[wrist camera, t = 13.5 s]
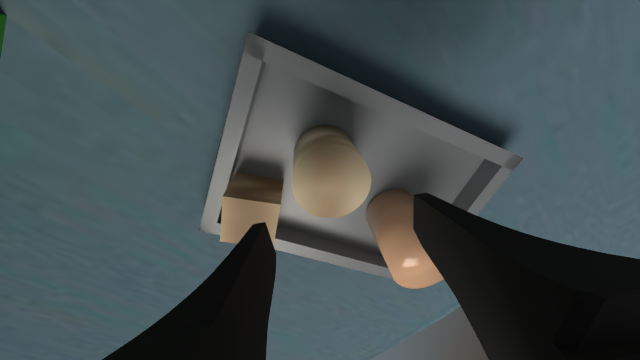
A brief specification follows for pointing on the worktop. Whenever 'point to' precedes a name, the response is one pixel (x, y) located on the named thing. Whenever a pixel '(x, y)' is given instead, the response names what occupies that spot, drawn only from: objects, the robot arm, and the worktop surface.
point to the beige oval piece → (329, 173)
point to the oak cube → (250, 205)
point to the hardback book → (2, 29)
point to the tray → (366, 134)
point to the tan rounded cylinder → (400, 240)
